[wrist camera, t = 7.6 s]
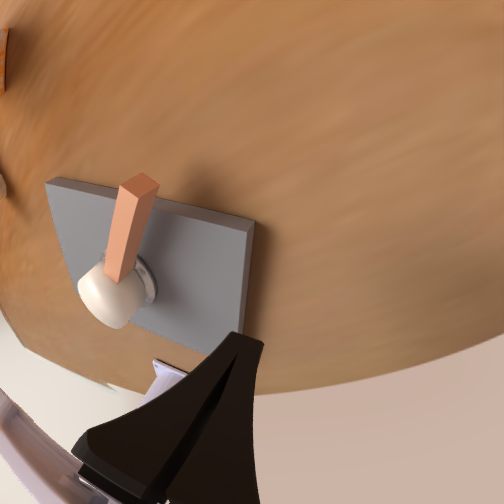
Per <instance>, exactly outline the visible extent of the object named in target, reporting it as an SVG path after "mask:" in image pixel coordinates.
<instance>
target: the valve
mask: <svg viewBox="0 0 504 504" xmlns="http://www.w3.org/2000/svg"><path fill="white" fill-rule="evenodd" d="M6 195H7V194H6V184H5V181H4V179H3V176H2V174H0V199H2V198H4V197H5V196H6Z"/></svg>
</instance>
